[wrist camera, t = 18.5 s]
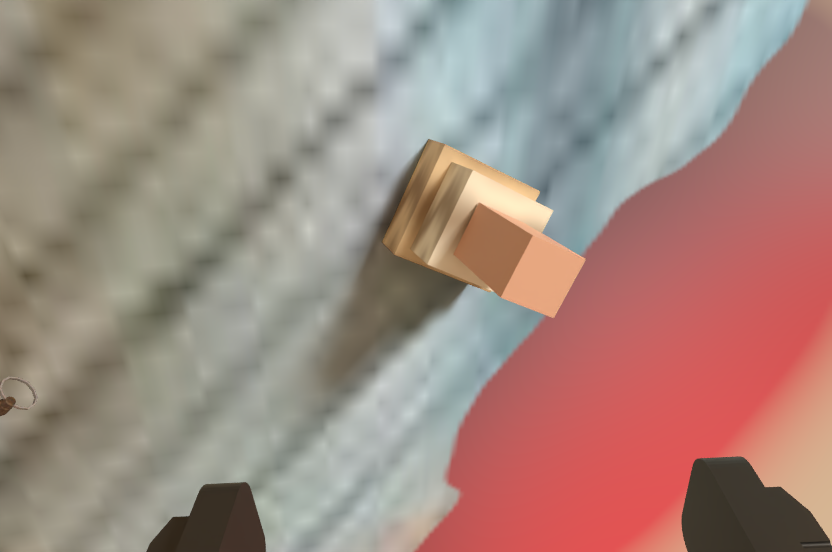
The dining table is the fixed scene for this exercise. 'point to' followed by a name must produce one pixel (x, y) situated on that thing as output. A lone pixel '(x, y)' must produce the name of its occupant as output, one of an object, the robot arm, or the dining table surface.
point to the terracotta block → (518, 260)
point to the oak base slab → (424, 192)
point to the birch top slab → (468, 217)
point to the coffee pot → (7, 403)
